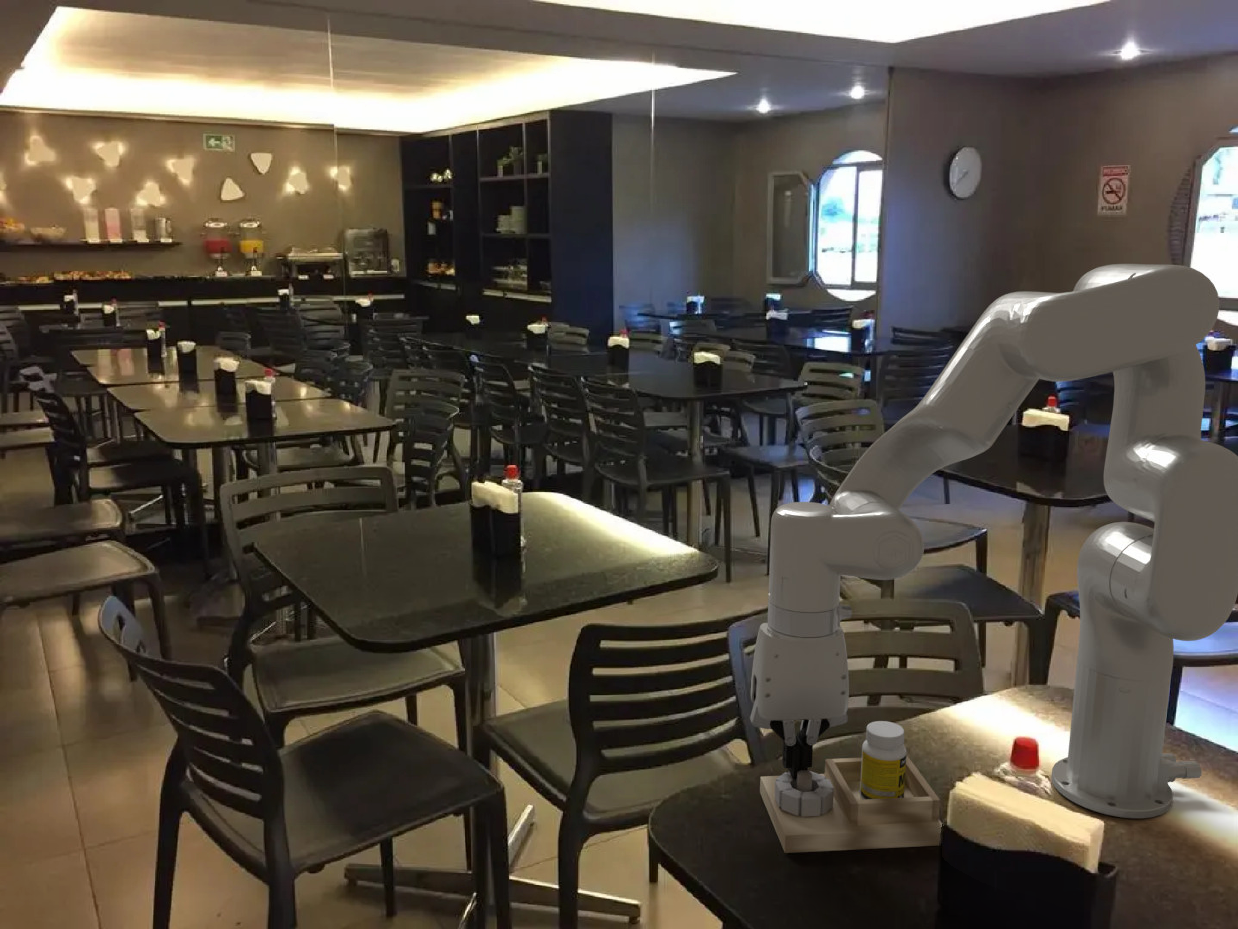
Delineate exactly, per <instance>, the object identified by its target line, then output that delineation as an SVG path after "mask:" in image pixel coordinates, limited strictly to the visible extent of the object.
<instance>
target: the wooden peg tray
mask: <svg viewBox="0 0 1238 929" xmlns="http://www.w3.org/2000/svg"><path fill="white" fill-rule="evenodd" d="M861 760H862V757H848V758H847V757H845V758H825V761H824V773H819V774H820V775H822V776H825V777H826V779H829V780H830V782H831V784H832V786H833V787H834V798H833V807H832V808H831V809H830V810H829V811H827V812H826V813H825V814H824V815H823V814H820V816H805V817H802V816H801V814H799V815H798V816H796V815H794V814H792V813H789V812H787V811H784V810H782V809H781V807H779V806H778V804H777V802H776V799H775V781H776V779H777V778H778V777H779V776H780V775H770V776H769V775H767V776H766V775H765V776H760V782H759V783H760V785H759V794H760V796H761V798H762V801H763V804H764V805H765V808H766V810H767V813H768V815H769V817H770V818H769V819H770V821H771V823H772V825H773V828H774V830H775V832H776V835H777V837H778V839H779V842H780V844H781V847H782V849H783V850H782V851H783V852H784V854H789V853H791V854H792V853H809V852H810V853H811V852H831V851H849V850H850V851H853V850H869V849H870V850H871V849H872V850H873V849H891V848H893V849H894V848H910V847H911V848H912V847H931V846H932V847H933V846H934V847H935V846H940V845H939V841H940V833H941V827H942V824H943V823H942V822H941V820H940V810H941V809H940V808H941V807H940V806H941V799H940V798H939V797H938V795H937V794H936V792H935V791H934V790H933V788H932V787H931V786H930V784H929V783H928V782H927V780H926V779H925V777H924V776H923V775H922V773H921V772H920V770H919V769H918V768H917V767H916V765H915V764H914V763H913V762H912V760H911V759H910V756H908V755H906V771H905V788H904V798H886V799H864V800H862V799H861V797H860V781H861ZM810 771H811V770H808V771H807V770H800V771H798V772H797V790H798V791H801V792H812V773H811V772H810Z"/></svg>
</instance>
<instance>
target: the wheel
mask: <svg viewBox="0 0 1238 929" xmlns="http://www.w3.org/2000/svg"><path fill="white" fill-rule="evenodd" d="M809 771H810V772H811V773H812V792H801V791H798V790H797V779H793V778H792V776H791V774H790V772H789V771H788V772H786V771H785V772H783V773H782V774H781V775H778V776H779V777H778V778H777V779H776V781H775V799H776V802H777V804H778V806H779V807H781V809H782V810H784V811H787V812H789V813H792V814H794V815H796V816H798V815H799V814H801V816H802V817H805V816H820V814H823V815H824V814H825V813H826V812H827V811H829V810H830V809H831V808H832V807H833V798H834V787H833V786H832V784H831V782H830V780H829V779H826V777H825V776H822V775H820V774H821V773H818V772H814V771H812V770H809Z"/></svg>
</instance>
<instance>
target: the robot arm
mask: <svg viewBox="0 0 1238 929" xmlns="http://www.w3.org/2000/svg"><path fill="white" fill-rule="evenodd" d="M1219 311H1220V298H1219V293H1218V291H1217V289H1216V287H1215V284H1214V283H1213V281H1212V280H1211V279H1210V278H1209V277H1208V276H1207V275H1205V274H1204V273H1202V272H1201V271H1199V270H1197V269H1195V268H1193V267H1189V266H1186V265H1182V264H1181V265H1180V264H1142V263H1116V264H1115V263H1114V264H1106V265H1102V266H1098V267H1096V268H1094V269H1092V270H1089V271H1088V272H1086V273H1085V274H1083V275H1082V276H1081V277H1080V278H1079V280H1078V281H1077V282H1076V284H1075V286H1074V287H1073V291H1065V292H1045V291H1044V292H1043V291H1026V290H1025V291H1014V292H1009V293H1006V294H1003V295H1001V296H999V297H998V298H997V299H995V300H994V301H992V303H990V304H989V305H988V307H987V308H986V309H985V310H984V311H983V312H982V314H980V316H979V318H978V320H977V321H976V323H975V324H974V325H973V326H972V328H971V329H970V330H969V332H968V334H967V335H966V336H965V338H964V339H963V340H962V342H961V343H960V344H959V346H958V348H957V350H955V353H954V354H953V356H951V358H950V359H949V361H948V362H947V364H946V365H945V367H944V368H943V369H942V371H941V373H939V375H938V377H937V378H936V379H935V381H934V382H933V384H932V385H931V387H930V388H929V389H928V391H927V392H926V394H925V395H924V397H922V399H921V400H920V401H919V403H918V404H917V405H916V406H915V407H914V408H913V409H912V410H911V411H909V412H908V413H907V414H906V415H904V416H903V417H901V418H900V419H899V420H898V421H897V422H896V423H895V424H894V425H893V426H892V427H890V428H889V429H888V430H887V431H886V432H884V433H883V434H882V435H881V436H880V437H879V438H877V439H876V440H875V441H874V442H873V443H872V444H871V445H870V446H869V447H868V449H867V450H865V452H864V453H863V454H862V456H860V458H859V459H858V460H857V461H856V463H855V464H854V465H853V467H852V468H851V470H850V471H849V473H848V474H847V475H846V477H845V478H844V480H843V481H842V483H841V484H840V486H839V487H838V489H837V490H836V492H835V493H834V494H833V497H832V499H831V500H830V502H829V505H827V504H824V503H821V502H820V503H819V502H811V501H795V502H793V501H792V502H789V503H785V504H782V505H779V506H778V507H777V508H775V510H774V512H773V513H772V516H771V517H770V518H771V520H770V521H771V522H770V543H769V544H770V545H769V572H768V574H769V575H768V602H767V603H768V604H767V609H768V610H767V622H763V623H761V624H760V626H759V629H758V633H757V638H756V642H755V645H754V646H755V647H754V651H753V652H754V654H753V661H752V670H751V679H750V680H751V681H750V700H751V703H753V705H752V710H751V712H750V713H751V714H750V715H749V720H750V722H751V724H752V726H753V727H755V728H760V729H765V730H772V731H773V732H774V733H775V734H776V735H777V736H778V737H779V738H780V739H781V740H782V758H781V759H782V760H781V761H782V765H783V768H784V769H787V770H788V773H789V772H790V774H791V776H792V778H793V779H797V772H798V771H800V770H807V771H809V770H808V769H809V768H812V767H813V755H814V753H813V752H814V751H813V750H814V745H816V744H817V742H818V738H820V736H822V735H823V734H824V733H825V732H826V731H827V730H828V729H829V728H833V727H837V726H840V725H844V724H846V723H847V722H848V721H849V719H848V713H847V711H848V708H849V699H850V698H849V695H850V694H849V693H850V688H849V687H850V685H849V684H850V681H849V664H848V654H847V645H846V644H847V643H846V639H845V632H844V630H843V627H842V626H841V622H842V620H845V619H851V618H852V614H853V609H852V607H851V605H844V604H841V603H840V593H841V578H842V577H841V576H847V577H855V578H862V579H870V580H878V581H881V580H882V581H888V580H895V579H896V580H897V579H899V578H902V577H904V576H906V575H907V576H908V575H909V574H910V573H911V572H913V571H914V570H915V569H916V568H917V567H918V565H919V564H920V563H921V561H922V559H923V556H924V550H925V541H924V537H923V534H922V532H921V530H920V528H919V526H918V525H917V524H916V523H915V522H914V520H912V519H911V518H910V517H909V516H908V515H907V514H905V513H903V511H900V510H901V508H902V506H903V505H904V503H905V502H906V500H908V498H909V496H911V494H912V493H913V492H914V491H915V490H916V488H917V487H918V486H919V485H920V484H922V483H923V482H924V481H925V480H926V479H928V477H930V476H931V475H933V474H934V473H936V471H939V470H941V469H942V468H945V467H947V466H949V465H952V464H955V463H959V462H961V461H966V460H968V459H971V458H973V457H975V456H978V455H980V454H982V453H984V452H986V451H987V450H989V449H990V448H991V447H992V446H993V444H994V443H995V442H996V440H997V439H998V437H999V436H1000V434H1001V433H1002V431H1003V430H1004V429H1005V427H1006V426H1007V424H1008V423H1009V421H1010V420H1011V418H1012V417H1013V416H1014V414H1015V413H1016V411H1017V410H1018V409H1019V407H1020V406H1021V404H1022V403H1023V402H1024V401H1025V399H1026V397H1027V396H1028V395H1029V394H1030V392H1031V391H1032V389H1033V388H1034V387H1035V386H1036V384H1037V383H1038V381H1039V380H1044V381H1049V382H1058V383H1059V382H1071V381H1076V380H1083V379H1087V378H1091V377H1097V376H1101V375H1105V374H1108V373H1112V374H1113V380H1114V393H1113V406H1112V414H1111V421H1110V425H1109V427H1110V428H1109V433H1108V434H1109V435H1108V441H1107V446H1106V452H1105V453H1106V454H1105V461H1104V469H1103V487H1104V490H1105V492H1106V495H1107V496H1108V497H1109V499H1110V500H1111V501H1113V503H1115V504H1116V505H1117V506H1119V507H1120V508H1122V509H1124V510H1126V511H1128V512H1129V513H1132V514H1133V515H1136V516H1139V517H1141V518H1144V519H1146V520H1148V521H1151V522H1153V523H1154V526H1153V527H1150V526H1147V525H1144V524H1141V523H1136V522H1129V521H1117V522H1111V523H1108V524H1105V525H1103V526H1100V527H1099V528H1097V529H1096V530H1094V531H1093V532H1091V534H1090V535H1089V536H1088V537H1087V538H1086V539H1085V541H1084V543H1083V544H1082V546H1081V549H1080V550H1079V554H1078V557H1077V558H1078V559H1077V565H1076V579H1077V590H1078V600H1079V637H1078V649H1077V657H1076V658H1077V659H1076V668H1075V677H1074V678H1075V680H1074V689H1073V690H1074V691H1073V700H1072V709H1071V710H1072V711H1071V722H1070V733H1069V743H1068V752H1067V754H1068V755H1067V757H1064V758H1062V759H1060V760H1058V761H1056V762H1055V763H1054V764H1053V766H1052V769H1051V776H1050V777H1051V782H1052V783H1053V786H1054V787H1055V789H1057V791H1058V792H1059V793H1060V794H1061V795H1062V796H1064V797H1065V798H1066V799H1067V800H1069V801H1071V802H1073V803H1074V804H1076V805H1078V806H1081V807H1082V808H1085V809H1088V810H1090V811H1093V812H1096V813H1099V814H1102V815H1103V814H1104V815H1107V816H1112V817H1117V818H1124V819H1148V818H1154V817H1159V816H1161V815H1163V814H1165V813H1167V812H1168V811H1169V810H1170V809H1171V808H1172V805H1173V802H1174V801H1173V800H1174V799H1173V798H1174V792H1173V790H1172V788H1171V786H1170V785H1169V783H1174V782H1175V781H1176V779H1182V780H1183V779H1184V780H1185V779H1187V780H1188V779H1200V778H1201V776H1202V768H1201V765H1200V763H1198V762H1197V760H1196V761H1195V760H1185V761H1184V760H1182V761H1180V760H1179V761H1177V757H1176V756H1175V754H1174V753H1172V752H1169V753H1168V752H1167V753H1166V752H1165V753H1163V750H1164V749H1163V748H1164V741H1165V732H1166V724H1167V714H1168V706H1169V705H1168V704H1169V698H1170V687H1171V680H1172V673H1173V668H1174V666H1173V664H1174V653H1175V651H1174V650H1175V649H1174V646H1175V644H1174V640H1176V641H1183V642H1192V641H1193V642H1195V641H1199V640H1202V639H1205V638H1208V637H1209V636H1211V635H1213V634H1214V633H1216V632H1217V631H1218V630H1220V628H1222V627H1223V625H1224V624H1225V623H1226V622H1227V620H1228V619H1229V617H1230V615H1231V613H1232V611H1233V609H1234V607H1235V604H1236V601H1237V598H1238V455H1237V454H1236V453H1235V452H1233V451H1231V450H1230V449H1228V448H1226V447H1224V446H1223V445H1220V444H1217V443H1214V442H1212V441H1207V440H1203V439H1202V425H1203V424H1202V423H1203V414H1204V404H1205V397H1206V396H1205V395H1206V373H1205V368H1204V367H1205V366H1204V363H1203V359H1202V356H1201V353H1200V350H1199V348H1198V347H1197V344H1199V343H1200V342H1203V340H1204V339H1205V338H1206V337H1207V336H1208V335H1209V334H1210V332H1211V331H1212V330H1213V328H1214V326H1215V324H1216V322H1217V320H1218V316H1219V313H1220V312H1219ZM795 721H801V723H800V730H799V731H798V732H797V733H796V730H795Z"/></svg>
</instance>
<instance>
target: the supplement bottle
mask: <svg viewBox="0 0 1238 929" xmlns="http://www.w3.org/2000/svg"><path fill="white" fill-rule="evenodd" d="M865 730H866V731H865V740H864V741H863V743H862V746H861V758H862V760H861V781H860V797H861V799H862V800H864V799H886V798H904V788H905V771H906V756H907V749H906V746H905V745H904V743H905V730H904V728H903V726H901V725H899V724H897V723H895V722H891V721H888V720H885V721H884V720H877V721H876V720H875V721H872V722H870V723H868V724H867V726H866V729H865Z"/></svg>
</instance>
